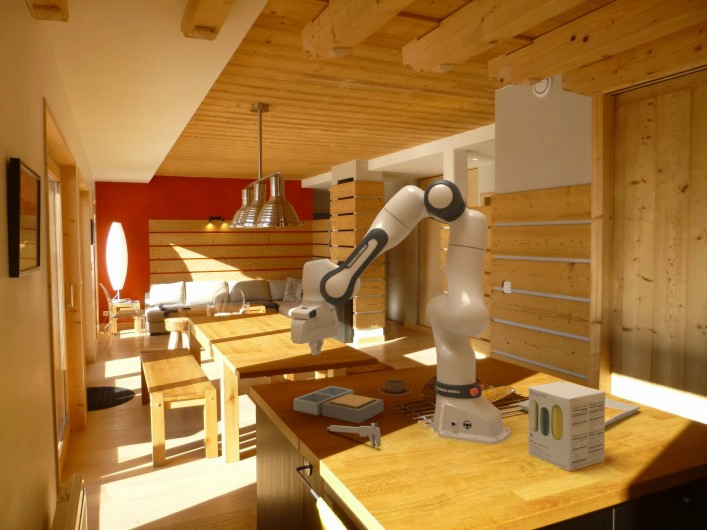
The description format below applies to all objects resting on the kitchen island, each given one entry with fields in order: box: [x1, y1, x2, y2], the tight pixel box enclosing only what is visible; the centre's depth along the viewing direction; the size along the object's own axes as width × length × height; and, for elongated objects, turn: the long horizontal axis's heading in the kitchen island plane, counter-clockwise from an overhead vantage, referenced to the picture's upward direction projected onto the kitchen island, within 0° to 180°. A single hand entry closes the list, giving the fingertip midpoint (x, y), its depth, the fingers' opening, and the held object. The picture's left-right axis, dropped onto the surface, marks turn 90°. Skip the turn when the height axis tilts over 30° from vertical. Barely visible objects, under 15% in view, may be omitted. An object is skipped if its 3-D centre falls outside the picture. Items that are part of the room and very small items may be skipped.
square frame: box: [321, 394, 385, 424], centre depth 179 cm, size 14×14×4 cm
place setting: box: [378, 376, 436, 397], centre depth 203 cm, size 18×20×6 cm
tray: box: [293, 385, 354, 417], centre depth 188 cm, size 20×10×4 cm, turn 145°
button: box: [331, 394, 376, 409], centre depth 179 cm, size 10×10×4 cm
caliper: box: [326, 422, 382, 448], centre depth 156 cm, size 20×1×6 cm, turn 44°
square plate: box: [517, 397, 641, 427], centre depth 177 cm, size 27×27×4 cm
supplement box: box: [527, 380, 606, 472], centre depth 142 cm, size 13×13×18 cm
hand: (316, 354), depth 176 cm, fingers closed
